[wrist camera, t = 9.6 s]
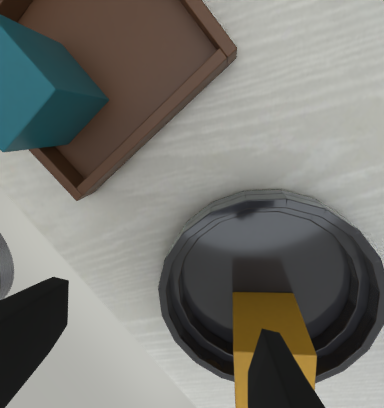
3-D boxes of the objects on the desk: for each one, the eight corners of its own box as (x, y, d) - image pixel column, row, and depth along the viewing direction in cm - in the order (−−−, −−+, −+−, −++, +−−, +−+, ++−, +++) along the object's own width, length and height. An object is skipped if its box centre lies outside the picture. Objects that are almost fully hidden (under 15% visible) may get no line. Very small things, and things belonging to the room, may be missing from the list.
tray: (92, 193, 18) (76, 201, 16) (-22, 69, 16) (-53, 62, 14) (236, 57, 14) (237, 48, 12) (106, -116, 13) (86, -156, 11)
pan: (243, 381, 21) (244, 414, 18) (131, 262, 19) (117, 282, 16) (406, 302, 17) (435, 331, 14) (286, 143, 15) (297, 147, 13)
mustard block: (234, 338, 19) (235, 409, 14) (232, 291, 18) (233, 351, 13) (291, 341, 18) (313, 416, 14) (293, 292, 17) (317, 356, 12)
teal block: (21, 93, 16) (-67, 80, 11) (61, 43, 15) (-19, 4, 10) (68, 144, 16) (2, 153, 12) (110, 100, 15) (56, 89, 11)
